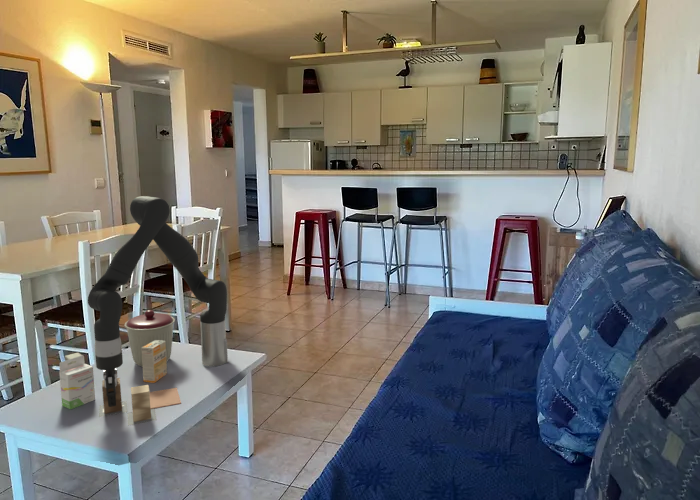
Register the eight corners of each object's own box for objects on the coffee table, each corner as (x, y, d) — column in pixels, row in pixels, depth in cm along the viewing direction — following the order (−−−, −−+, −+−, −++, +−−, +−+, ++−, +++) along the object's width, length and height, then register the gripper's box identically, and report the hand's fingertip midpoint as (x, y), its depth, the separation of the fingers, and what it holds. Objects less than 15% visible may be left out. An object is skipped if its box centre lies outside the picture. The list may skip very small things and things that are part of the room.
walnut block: (121, 403, 162) (119, 377, 161) (122, 410, 158) (119, 383, 156) (104, 406, 160) (102, 380, 159) (104, 413, 156) (102, 386, 154)
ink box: (70, 410, 158) (66, 366, 156) (61, 406, 161) (57, 362, 158) (96, 399, 165) (92, 357, 163) (87, 395, 168) (84, 354, 165)
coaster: (176, 388, 174) (176, 387, 174) (181, 403, 163) (181, 402, 163) (139, 395, 169) (139, 393, 169) (141, 411, 158) (141, 409, 158)
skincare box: (88, 390, 172) (85, 356, 170) (74, 394, 169) (71, 360, 167) (81, 384, 176) (78, 351, 174) (67, 388, 173) (64, 355, 171)
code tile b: (154, 408, 160) (154, 408, 160) (156, 420, 153) (156, 420, 153) (127, 413, 156) (127, 413, 156) (128, 425, 149) (128, 425, 149)
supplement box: (155, 383, 178) (152, 348, 175) (143, 382, 178) (140, 347, 176) (168, 374, 185) (166, 340, 183) (156, 372, 186) (154, 339, 184)
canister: (164, 372, 187) (160, 318, 183) (117, 370, 188) (113, 316, 184) (184, 354, 204) (182, 304, 200) (142, 352, 206) (138, 302, 202)
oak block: (150, 411, 158) (148, 384, 156) (151, 418, 153) (149, 391, 152) (132, 414, 156) (130, 387, 154) (133, 422, 151) (131, 394, 150)
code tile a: (126, 401, 164) (126, 400, 164) (127, 412, 157) (127, 411, 157) (99, 405, 161) (99, 405, 161) (98, 417, 154) (98, 417, 154)
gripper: (122, 357, 151) (125, 407, 154) (121, 342, 164) (124, 388, 166) (94, 361, 148) (98, 412, 151) (95, 345, 161) (99, 392, 163)
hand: (112, 400), depth 159 cm, fingers open, 8 cm apart
